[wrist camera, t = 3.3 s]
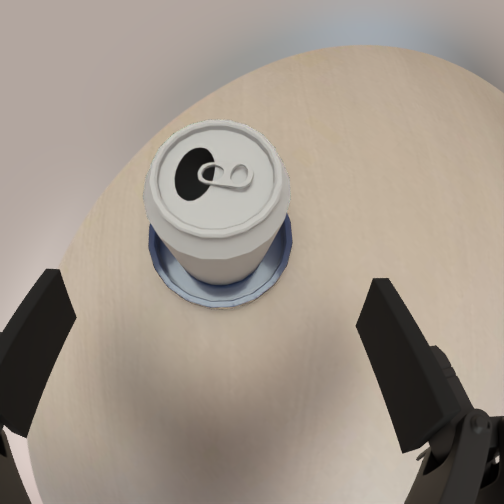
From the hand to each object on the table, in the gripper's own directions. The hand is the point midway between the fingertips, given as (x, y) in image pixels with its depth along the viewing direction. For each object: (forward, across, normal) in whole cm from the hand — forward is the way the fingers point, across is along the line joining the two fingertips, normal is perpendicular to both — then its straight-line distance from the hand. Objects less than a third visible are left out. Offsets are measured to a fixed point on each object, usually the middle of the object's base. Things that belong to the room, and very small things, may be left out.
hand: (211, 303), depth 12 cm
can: (+13, 0, -4) cm, 13 cm away
